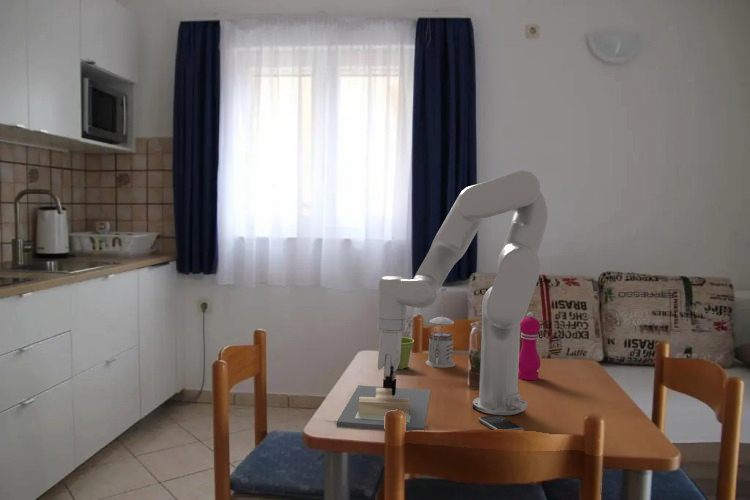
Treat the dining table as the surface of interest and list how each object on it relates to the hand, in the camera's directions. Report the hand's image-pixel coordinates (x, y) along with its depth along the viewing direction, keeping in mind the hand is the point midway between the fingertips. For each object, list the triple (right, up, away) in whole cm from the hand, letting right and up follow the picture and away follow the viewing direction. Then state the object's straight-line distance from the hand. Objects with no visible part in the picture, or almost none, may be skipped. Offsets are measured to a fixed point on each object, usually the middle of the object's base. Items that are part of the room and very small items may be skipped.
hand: (389, 394), depth 165 cm
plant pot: (+4, 0, +35) cm, 36 cm away
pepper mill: (+42, -1, +27) cm, 50 cm away
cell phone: (+26, -5, -17) cm, 31 cm away
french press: (+17, 0, +41) cm, 44 cm away
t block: (-1, -1, -8) cm, 8 cm away
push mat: (0, -2, -6) cm, 6 cm away
